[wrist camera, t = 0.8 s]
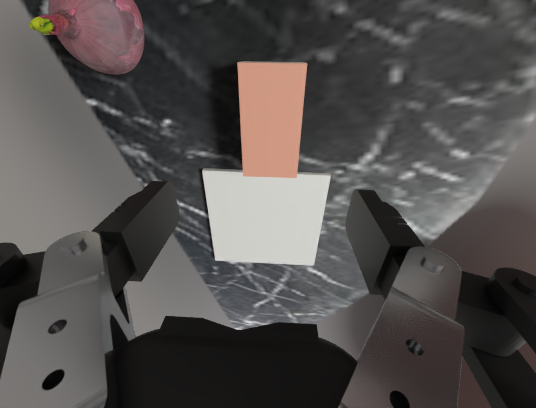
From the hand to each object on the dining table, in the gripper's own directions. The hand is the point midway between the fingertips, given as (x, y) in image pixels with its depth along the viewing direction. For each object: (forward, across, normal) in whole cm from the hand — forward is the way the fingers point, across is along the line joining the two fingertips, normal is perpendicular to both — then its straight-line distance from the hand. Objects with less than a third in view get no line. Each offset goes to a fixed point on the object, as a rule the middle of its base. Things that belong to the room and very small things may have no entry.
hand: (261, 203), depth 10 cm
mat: (+16, 0, +13) cm, 21 cm away
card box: (+16, 0, 0) cm, 17 cm away
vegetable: (+16, +13, -7) cm, 22 cm away
